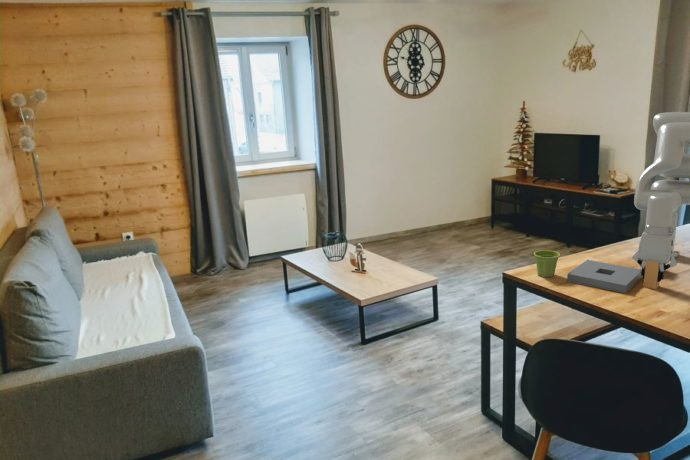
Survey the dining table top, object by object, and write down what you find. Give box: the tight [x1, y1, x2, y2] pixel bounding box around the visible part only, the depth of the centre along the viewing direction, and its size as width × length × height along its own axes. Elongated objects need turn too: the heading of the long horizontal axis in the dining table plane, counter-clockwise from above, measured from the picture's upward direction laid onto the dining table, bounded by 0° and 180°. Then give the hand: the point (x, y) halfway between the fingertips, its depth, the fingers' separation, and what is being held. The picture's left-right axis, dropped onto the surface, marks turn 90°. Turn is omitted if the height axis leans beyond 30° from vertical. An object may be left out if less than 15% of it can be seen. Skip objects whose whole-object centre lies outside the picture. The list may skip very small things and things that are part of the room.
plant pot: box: [533, 249, 561, 278], centre depth 199 cm, size 9×9×9 cm
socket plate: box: [566, 259, 643, 294], centre depth 193 cm, size 20×20×3 cm
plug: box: [642, 260, 660, 290], centre depth 183 cm, size 4×4×10 cm
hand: (652, 279), depth 184 cm, fingers closed on plug, 4 cm apart
